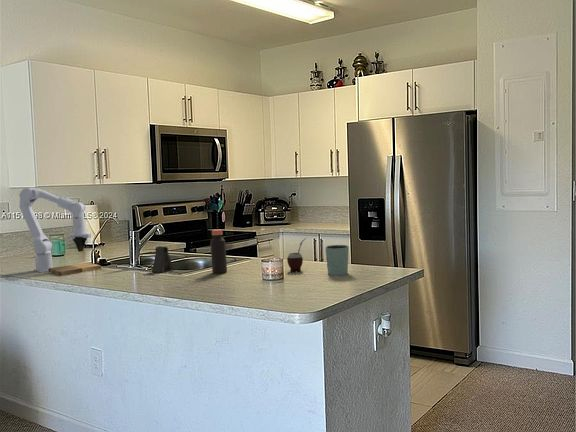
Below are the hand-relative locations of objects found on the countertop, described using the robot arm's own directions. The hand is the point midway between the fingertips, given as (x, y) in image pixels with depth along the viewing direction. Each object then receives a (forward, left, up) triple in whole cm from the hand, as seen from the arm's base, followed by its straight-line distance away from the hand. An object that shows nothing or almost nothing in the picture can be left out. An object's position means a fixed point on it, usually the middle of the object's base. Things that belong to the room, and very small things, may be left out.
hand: (80, 251), depth 298 cm
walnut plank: (+3, -10, -9) cm, 14 cm away
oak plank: (+3, 0, -9) cm, 10 cm away
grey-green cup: (+126, +61, -9) cm, 140 cm away
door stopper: (+47, +21, -9) cm, 52 cm away
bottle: (+76, +34, -9) cm, 84 cm away
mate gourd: (+105, +56, -9) cm, 119 cm away
